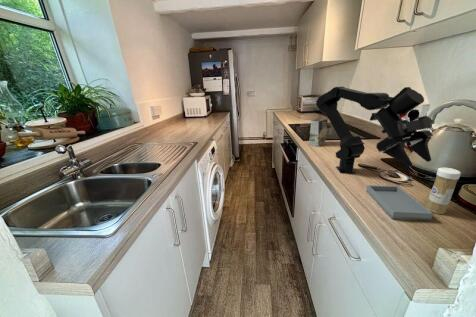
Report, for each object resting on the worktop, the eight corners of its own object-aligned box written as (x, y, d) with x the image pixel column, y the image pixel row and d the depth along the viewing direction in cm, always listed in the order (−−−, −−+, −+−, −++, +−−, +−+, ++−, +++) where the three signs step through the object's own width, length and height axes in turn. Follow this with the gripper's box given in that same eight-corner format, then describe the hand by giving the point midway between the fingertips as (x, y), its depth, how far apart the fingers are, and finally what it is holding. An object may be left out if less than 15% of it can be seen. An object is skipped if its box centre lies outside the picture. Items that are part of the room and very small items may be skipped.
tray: (366, 191, 72) (367, 185, 71) (396, 192, 71) (397, 186, 70) (391, 219, 57) (393, 211, 57) (430, 220, 56) (433, 213, 55)
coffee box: (317, 146, 124) (320, 121, 119) (308, 144, 129) (310, 120, 123) (325, 143, 130) (328, 119, 124) (316, 142, 134) (318, 118, 129)
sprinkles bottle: (421, 206, 62) (433, 167, 58) (434, 205, 63) (448, 166, 58) (436, 215, 58) (451, 174, 53) (450, 214, 58) (466, 172, 54)
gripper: (394, 110, 58) (428, 156, 52) (434, 105, 64) (468, 146, 58) (364, 131, 68) (390, 172, 62) (401, 125, 74) (428, 162, 68)
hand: (420, 163), depth 62 cm, fingers open, 9 cm apart
